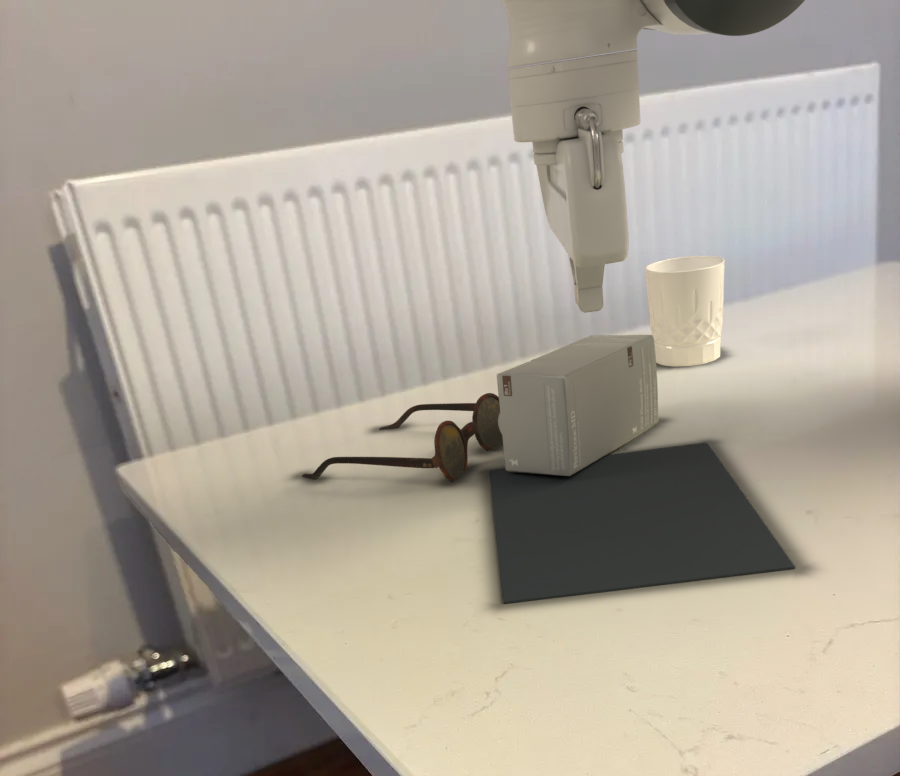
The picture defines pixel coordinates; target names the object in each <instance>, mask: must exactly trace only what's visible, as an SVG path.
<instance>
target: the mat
mask: <svg viewBox="0 0 900 776" xmlns="http://www.w3.org/2000/svg"><path fill="white" fill-rule="evenodd" d="M489 479H490V480H489V482H490V490H491V497H492V509H493V517H494V526H495V535H496V544H497V545H496V546H497V554H498V563H499V574H500V581H501V583H500V584H501V590H502V599H503V600H502V602H503V605H509V604H517V603H526V602H534V601H535V602H536V601H542V600H550V599H552V600H553V599H558V598H568V597H575V596H584V595H592V594H600V593H608V592H617V591H624V590H625V591H626V590H634V589H641V588H642V589H643V588H649V587H650V588H651V587H659V586H666V585H674V584H675V585H676V584H681V583H690V582H701V581H706V580H707V581H708V580H717V579H724V578H725V579H726V578H732V577H733V578H734V577H741V576H749V575H756V574H765V573H773V572H782V571H790V570H795V569H796V566H795V565H794V563H793V562H792V560H791V559H790V557H789V556H788V555H787V553H786V551H785V550H784V549H783V547H782V546H781V544H780V543H779V542H778V541H777V539H776V538H775V536H774V535H773V533H772V532H771V530H770V529H769V528H768V526H767V525H766V524H765V522H764V521H763V519H762V518H761V517H760V515H759V514H758V513H757V511H756V510H755V508H754V507H753V506H752V504H751V503H750V501H749V500H748V499H747V497H746V496H745V494H744V493H743V491H742V490H741V489H740V487H739V485H738V484H737V483H736V481H735V480H734V478H733V477H732V476H731V475H730V473H729V472H728V469H727V468H725V466H724V464H723V463H722V462H721V460H720V458H718V455H716V453H715V451H714V450H713V449H712V448H711V446H710V445H709V443H708V442H700V443H691V444H683V445H675V446H667V447H661V448H651V449H645V450H636V451H628V452H622V453H613V454H607V455H606V456H604V457H602V458H600V459H599V460H597V461H595V462H593V463H592V464H590V465H588V466H587V467H585V468H583V469H582V470H580V471H578V472H576V473H575V474H573V475H571V476H561V475H546V474H530V473H516V472H507V471H506V468H505V467H504V468H499V469H497V468H496V469H490V470H489Z"/></svg>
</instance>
